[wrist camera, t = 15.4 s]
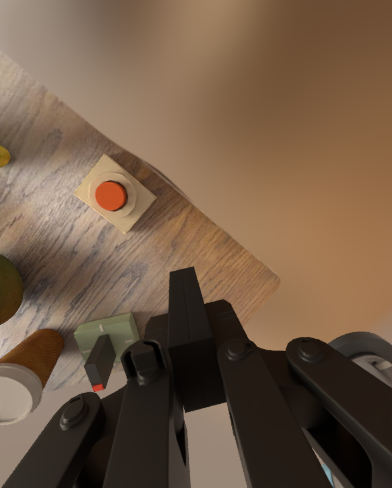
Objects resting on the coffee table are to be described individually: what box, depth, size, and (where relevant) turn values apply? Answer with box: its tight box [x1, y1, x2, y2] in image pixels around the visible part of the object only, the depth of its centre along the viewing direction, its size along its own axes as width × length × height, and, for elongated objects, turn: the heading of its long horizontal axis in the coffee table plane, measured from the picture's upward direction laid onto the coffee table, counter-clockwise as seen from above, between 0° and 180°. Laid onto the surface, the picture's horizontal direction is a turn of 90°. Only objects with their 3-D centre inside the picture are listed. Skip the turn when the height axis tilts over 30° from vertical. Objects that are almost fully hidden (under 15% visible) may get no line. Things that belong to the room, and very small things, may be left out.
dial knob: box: [84, 334, 116, 392], centre depth 36 cm, size 5×2×7 cm, turn 11°
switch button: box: [95, 182, 127, 210], centre depth 32 cm, size 4×4×2 cm
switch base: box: [74, 154, 157, 234], centre depth 35 cm, size 10×8×4 cm
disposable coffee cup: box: [0, 329, 64, 425], centre depth 36 cm, size 10×10×12 cm
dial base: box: [74, 312, 140, 367], centre depth 41 cm, size 10×9×3 cm
